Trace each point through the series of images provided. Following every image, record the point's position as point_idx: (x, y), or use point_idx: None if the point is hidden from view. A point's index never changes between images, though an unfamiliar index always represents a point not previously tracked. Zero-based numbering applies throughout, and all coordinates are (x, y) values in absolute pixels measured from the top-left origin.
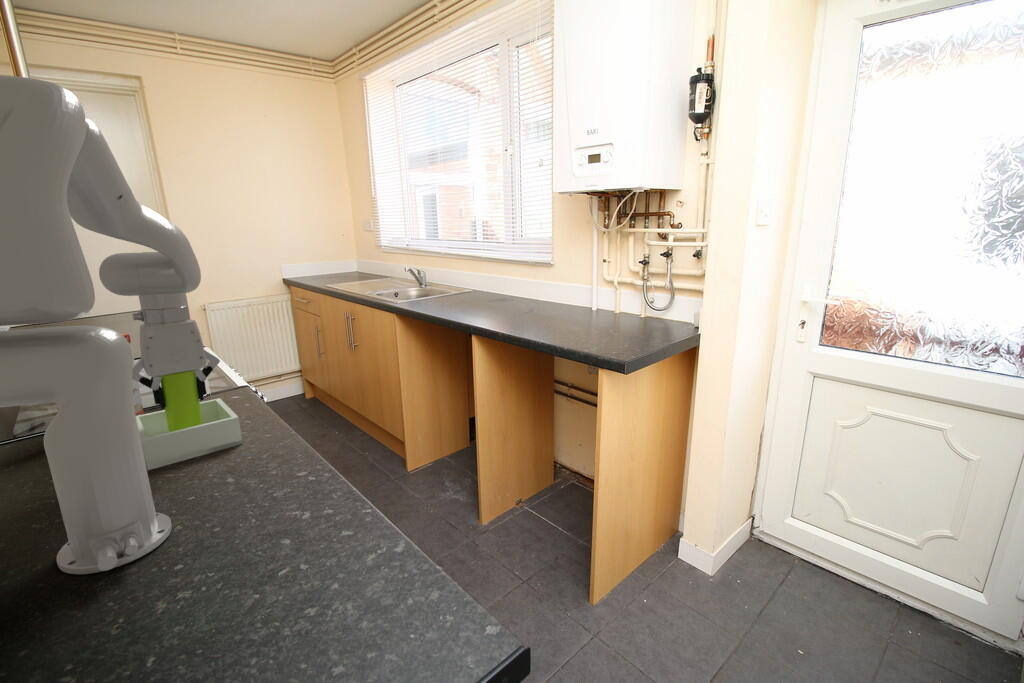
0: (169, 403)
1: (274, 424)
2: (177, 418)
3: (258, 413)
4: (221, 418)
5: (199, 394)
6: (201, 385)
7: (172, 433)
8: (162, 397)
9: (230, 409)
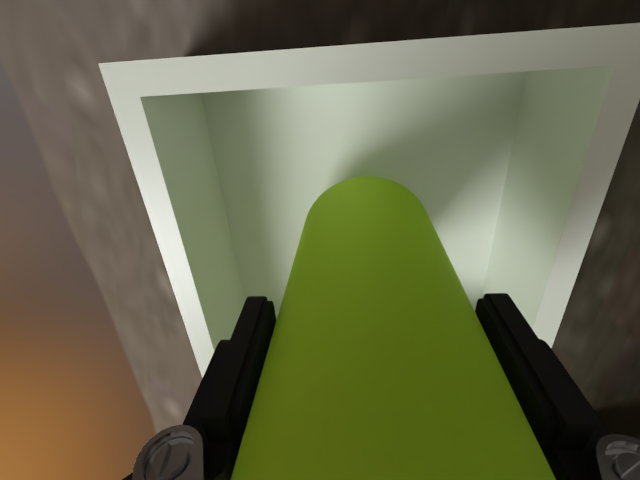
0: (465, 301)
1: (71, 197)
2: (414, 221)
3: (137, 330)
4: (234, 300)
5: (261, 328)
6: (215, 382)
7: (483, 35)
8: (526, 352)
9: (158, 240)
